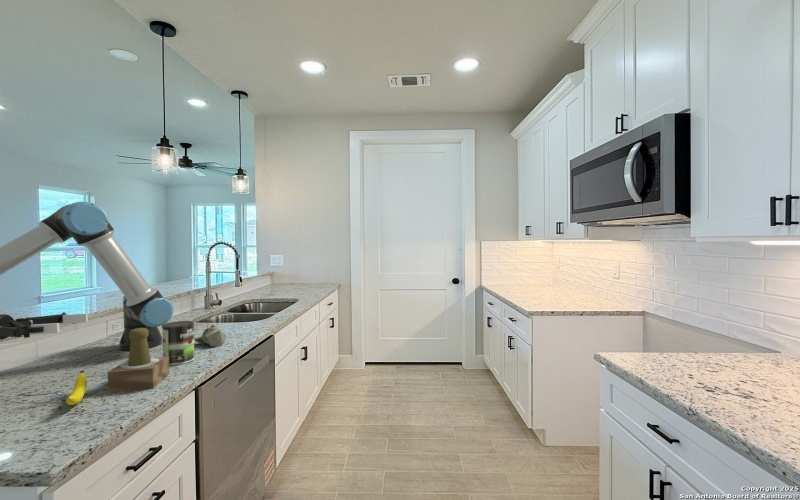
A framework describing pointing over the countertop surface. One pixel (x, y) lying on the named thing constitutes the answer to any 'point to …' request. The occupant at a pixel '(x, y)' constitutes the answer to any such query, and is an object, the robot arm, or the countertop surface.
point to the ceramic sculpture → (212, 336)
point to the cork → (139, 347)
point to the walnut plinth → (138, 375)
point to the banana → (78, 390)
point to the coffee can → (178, 342)
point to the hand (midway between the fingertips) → (73, 322)
